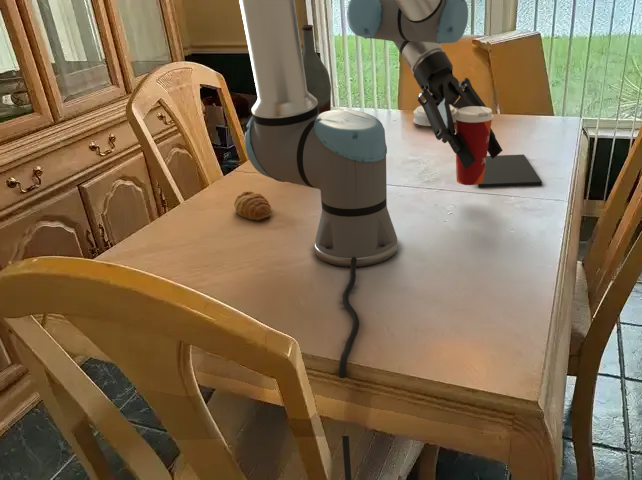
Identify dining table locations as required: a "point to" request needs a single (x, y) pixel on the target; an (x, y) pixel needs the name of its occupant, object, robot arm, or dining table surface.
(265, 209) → the pastry
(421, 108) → the lid
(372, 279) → the dining table surface
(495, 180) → the dark mat
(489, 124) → the paper cup
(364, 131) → the robot arm
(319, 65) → the bottle
